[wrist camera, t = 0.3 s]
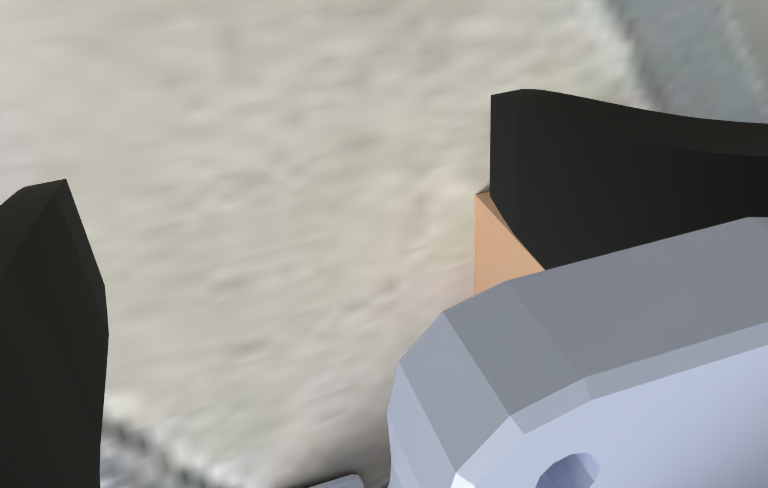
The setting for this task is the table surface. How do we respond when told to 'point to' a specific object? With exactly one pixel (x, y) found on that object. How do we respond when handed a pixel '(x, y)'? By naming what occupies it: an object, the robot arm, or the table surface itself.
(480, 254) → the tile
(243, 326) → the table surface
